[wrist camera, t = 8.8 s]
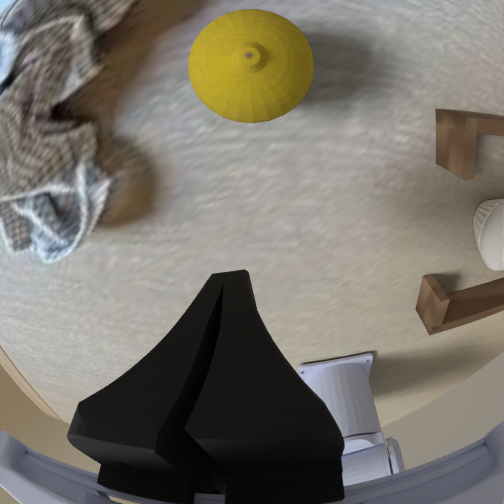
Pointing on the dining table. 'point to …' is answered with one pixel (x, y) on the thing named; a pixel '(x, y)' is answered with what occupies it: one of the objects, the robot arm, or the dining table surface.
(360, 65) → the dining table surface
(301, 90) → the lemon
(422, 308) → the brown wooden u-shaped frame
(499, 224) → the muffin
